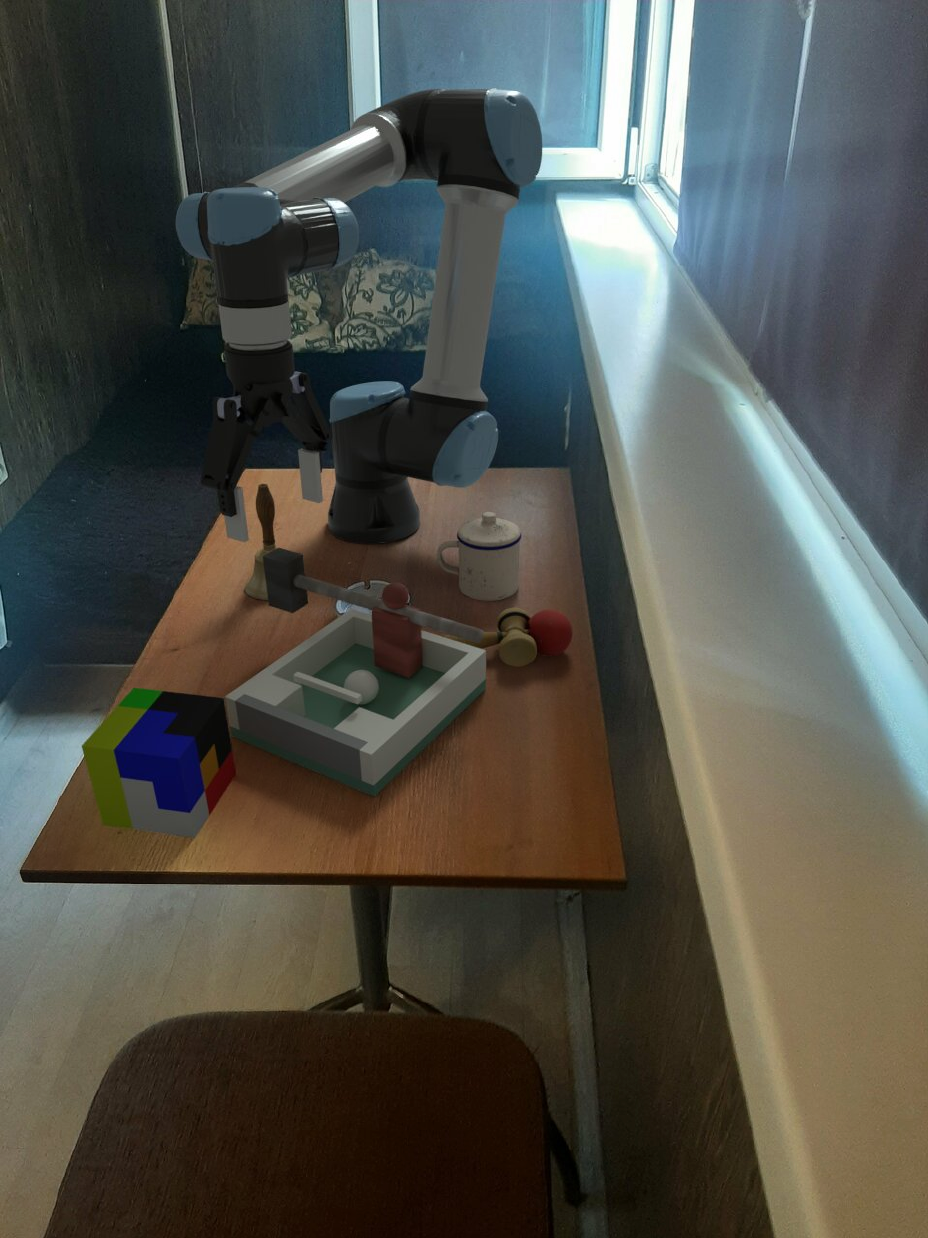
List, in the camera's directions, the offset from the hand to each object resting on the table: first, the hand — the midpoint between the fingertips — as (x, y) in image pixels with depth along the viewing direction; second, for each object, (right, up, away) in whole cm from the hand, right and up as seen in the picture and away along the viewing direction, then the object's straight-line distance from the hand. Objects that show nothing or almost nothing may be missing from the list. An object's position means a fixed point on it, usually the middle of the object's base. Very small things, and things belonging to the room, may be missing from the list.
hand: (277, 518), depth 115 cm
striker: (+12, -17, +2) cm, 21 cm away
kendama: (+28, -17, +7) cm, 33 cm away
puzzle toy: (-8, -31, -17) cm, 36 cm away
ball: (+11, -20, -6) cm, 24 cm away
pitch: (+11, -23, -4) cm, 26 cm away
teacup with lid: (+25, -8, +23) cm, 35 cm away
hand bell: (-5, -8, +23) cm, 25 cm away
